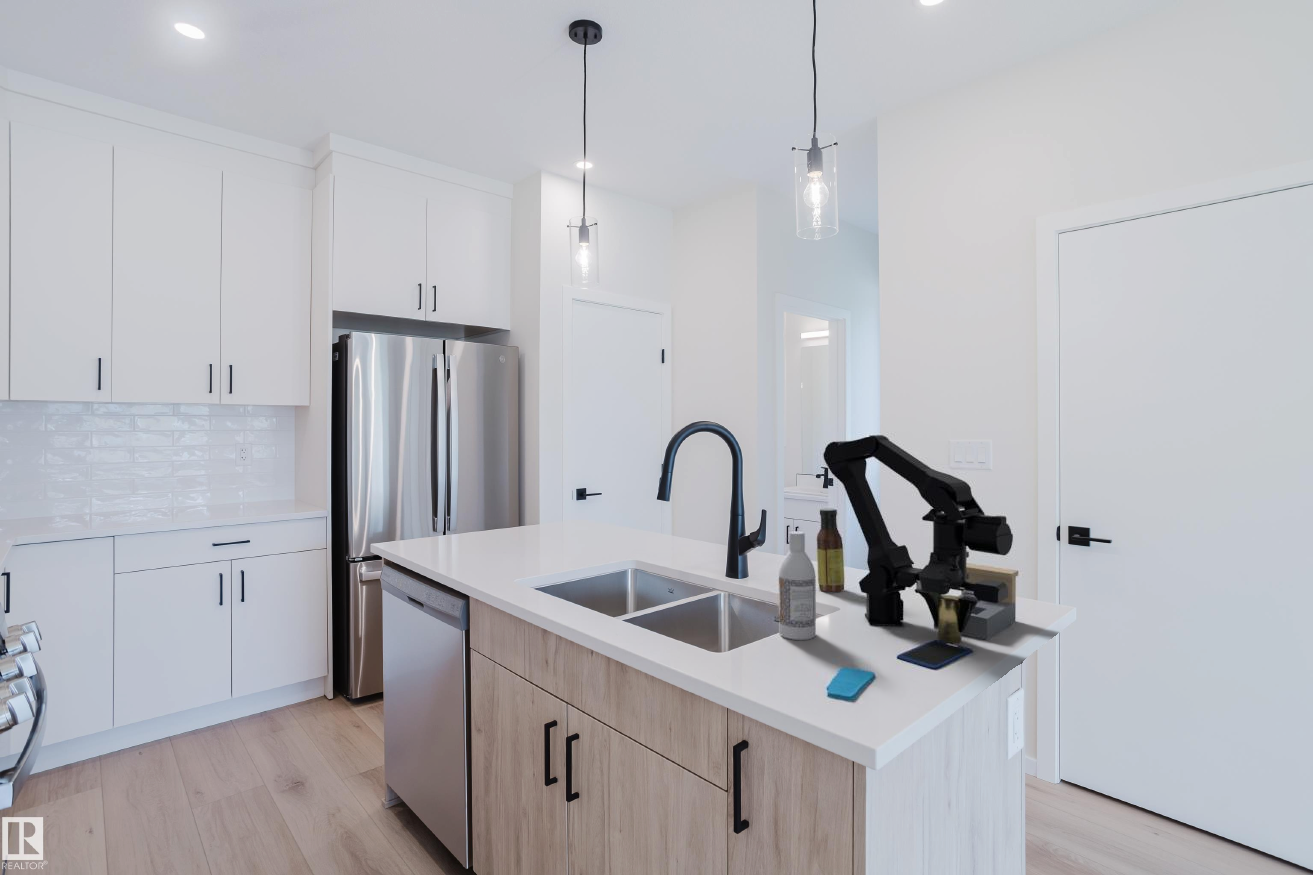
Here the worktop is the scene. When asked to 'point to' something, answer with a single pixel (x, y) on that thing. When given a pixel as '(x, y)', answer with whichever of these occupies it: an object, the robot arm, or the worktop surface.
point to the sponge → (849, 683)
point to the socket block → (991, 615)
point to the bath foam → (797, 592)
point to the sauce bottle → (830, 553)
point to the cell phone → (934, 654)
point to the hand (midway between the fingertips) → (949, 629)
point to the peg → (948, 619)
